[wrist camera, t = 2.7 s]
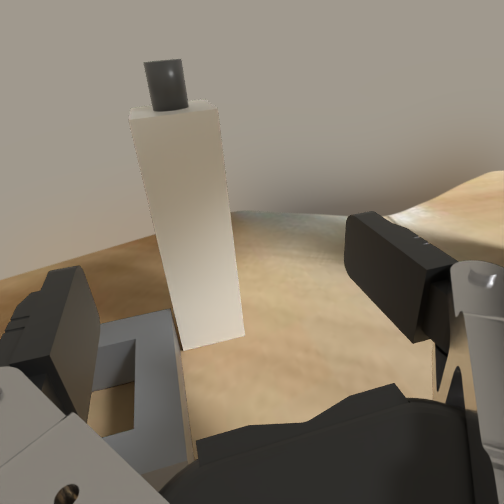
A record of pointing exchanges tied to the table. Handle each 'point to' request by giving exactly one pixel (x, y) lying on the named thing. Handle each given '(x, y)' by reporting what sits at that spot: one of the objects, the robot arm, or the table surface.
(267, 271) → the table surface
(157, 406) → the socket
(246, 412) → the table surface
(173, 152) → the plug
